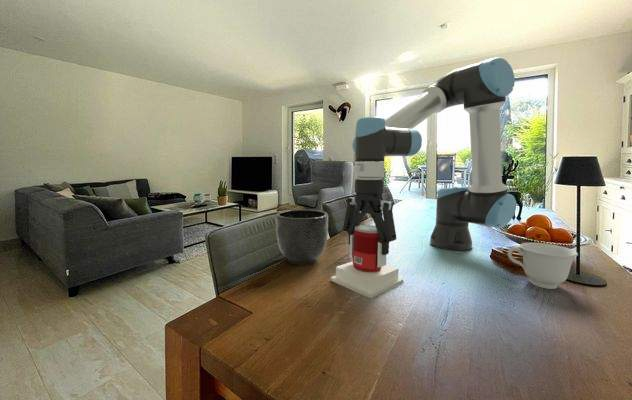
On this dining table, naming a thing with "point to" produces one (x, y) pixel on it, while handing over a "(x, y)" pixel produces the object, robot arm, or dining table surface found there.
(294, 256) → the planter
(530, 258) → the teacup
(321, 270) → the dining table surface
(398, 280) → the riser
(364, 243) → the canned food
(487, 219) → the robot arm
